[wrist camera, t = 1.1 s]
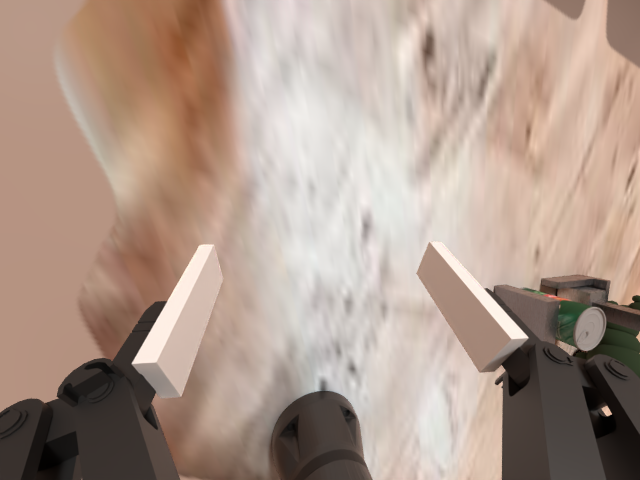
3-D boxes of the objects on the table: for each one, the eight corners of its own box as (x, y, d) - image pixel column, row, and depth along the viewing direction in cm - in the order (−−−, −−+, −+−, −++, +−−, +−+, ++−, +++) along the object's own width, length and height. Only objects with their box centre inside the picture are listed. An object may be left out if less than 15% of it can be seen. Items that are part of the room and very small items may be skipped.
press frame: (573, 319, 54) (632, 338, 46) (490, 333, 48) (541, 359, 39) (578, 274, 53) (640, 286, 44) (495, 283, 47) (548, 299, 38)
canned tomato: (525, 279, 49) (598, 298, 38) (539, 304, 51) (612, 328, 40) (501, 305, 48) (569, 331, 37) (516, 329, 50) (585, 360, 39)
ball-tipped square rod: (569, 313, 53) (737, 366, 35) (554, 315, 52) (720, 372, 33) (573, 283, 52) (747, 322, 34) (558, 285, 51) (729, 326, 32)
